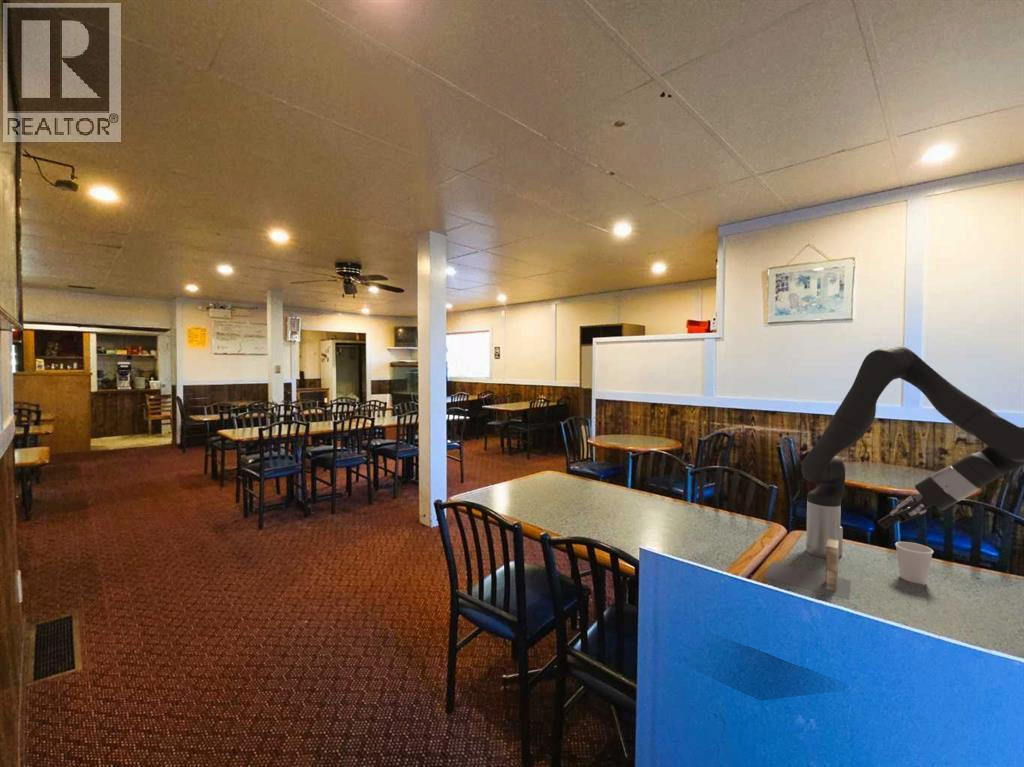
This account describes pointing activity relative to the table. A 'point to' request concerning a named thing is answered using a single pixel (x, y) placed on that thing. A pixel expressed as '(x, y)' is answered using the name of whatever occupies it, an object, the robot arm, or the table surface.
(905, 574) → the dixie cup
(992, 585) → the table surface
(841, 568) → the table surface
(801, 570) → the rubber mat
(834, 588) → the maple block
